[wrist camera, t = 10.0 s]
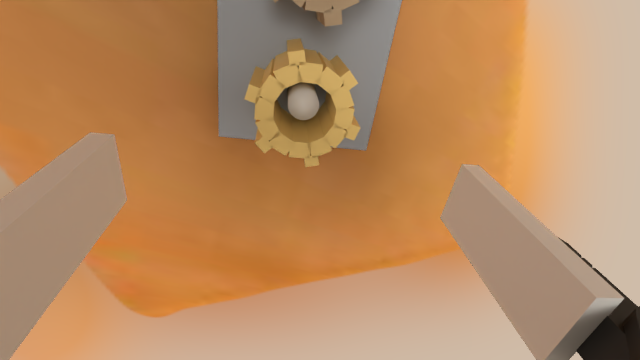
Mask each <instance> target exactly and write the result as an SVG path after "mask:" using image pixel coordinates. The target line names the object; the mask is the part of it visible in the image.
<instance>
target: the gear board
mask: <svg viewBox="0 0 640 360" xmlns="http://www.w3.org/2000/svg"><path fill="white" fill-rule="evenodd" d="M401 2H402V0H359V3H357V4H355V5H352V6H350V7H348V8H346V9H344V10H341V11H342V24H340V25H333V26H326V27H325V26H324V25H323V24H322V23H320V22H319V21H318V20H317V16H316V11H309V10H305V9H304V8H302V7H299V6H298V5H297V4H296V3H295V2H294V1H293V0H278V1H277V2H276V3H275V2H274V1H273V0H217V6H218V108H219V136H220V137H230V138H241V139H251V140H255V139H256V134H257V129H258V127H257V125H256V124H255V122H256V120H255V119H254V117H255V103H253V102H250V101H248V100H245V99H244V98H245V95H246V92H247V89H248V86H249V83H250V80H251V78H252V75H253V72H254V70H255V67H256V66H257V67H259V68H262V69H264V70H265V69H266V67H267V66H268V64H269V63H270V62H271V60H272V59H275V56H277V55H279V54H281V53H283V52H286V51H287V40H291V39H299V38H300V39H301V42H302V45H303V47H304V49H309V50H316V52H317V54H318V52H320V53H321V54H322V55H323V56H324V57H326V58H327V59H328V60H329V61H330V60H331V59H333V58H334V57H335V56H336V55H338V57H339V58H340V59H341V60H342V61H343V63H344V64H345V65H346V66H347V68H348V69H349V70H350V71H351V73H352V74H353V76H354V77H355V79H356V80H357V82H358V84H357V85H355V86H354V87H353V88H351V89H350V90H349V91H350V94H351V97H352V100H353V103H354V106H353V107H354V109H355V110H354V114H353V115H354V117H355V119H356V120H357V122H358V124H359V126H360V130H359V132H358V134H357V136H356V138H355V140H351V139H348V138H346V137H345V138H344V139H343V140H342V141H341V143H340V144H339V145H338V146H337V147H336V148H345V149H356V150H366V149H367V145H368V141H369V136H370V132H371V128H372V124H373V120H374V115H375V111H376V107H377V103H378V99H379V94H380V90H381V86H382V82H383V78H384V73H385V69H386V65H387V61H388V57H389V52H390V48H391V44H392V40H393V36H394V31H395V27H396V23H397V19H398V15H399V10H400V6H401ZM325 97H326V90H324V89H323V88H322V87H320V86H319V85H318V84H312V83H305V82H299V83H297V84H294V85H292V86H290V87H287V88H285V89H284V90H283V91H282V93H281V94H280V95H279V97H278V98H277V100H278V102H279V104H280V106H281V108H283V109H284V110H285V111H287V112H288V113H290V114H291V115H292V116H293V117H295V118H296V119H299V120H308V119H311V118H312V117H314V116H315V115H316V113H317V112H318V109H319V108H320V107H321V105H322V104H323V103H324V102H325ZM331 147H332V146H331Z"/></svg>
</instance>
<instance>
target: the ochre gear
mask: <svg viewBox="0 0 640 360" xmlns="http://www.w3.org/2000/svg"><path fill="white" fill-rule="evenodd" d="M299 82H305V83H312V84H318V85H319V86H320V87H322V88H323V89H324V90H326V97H325V102H324V103H323V104H322V105H321V107H320V108H319V109H318V112H317V113H316V115H315V116H314V117H312V118H311V119H308V120H299V119H296V118H295V117H293V116H292V115H291V114H290V113H288V112H287V111H285V110H284V109H283V108H281V106H280V104H279V102H278V100H277V98H278V97H279V95H280V94H281V93H282V91H283V90H284V89H285V88H287V87H290V86H292V85H294V84H297V83H299ZM357 84H358V82H357V80H356V79H355V77H354V76H353V74H352V73H351V71H350V70H349V69H348V68H347V66H346V65H345V64H344V63H343V61H342V60H341V59H340V58H339V57H338V55H336V56H335V57H334V58H333V59H331V60H330V61H329V60H328V59H327V58H326V57H324V56H323V55H322V54H321V53H320V52H318V54H317V52H316V50H309V49H304V47H303V45H302V42H301V39H300V38H299V39H291V40H287V51H286V52H283V53H281V54H279V55H277V56H275V59H272V60H271V62H270V63H269V64H268V66H267V67H266V69H265V70H264V69H262V68H259V67H257V66H256V67H255V70H254V72H253V75H252V78H251V80H250V83H249V86H248V89H247V92H246V95H245V98H244V99H245V100H248V101H250V102H253V103H255V117H254V119H255V120H256V122H255V124H256V125H257V127H258V129H257V134H256V139H255V144H256V145H257V146H258V147H259V148H260V149H261V150H262V151H263V152H264V153H266V152H268V151H269V150H270V149H271V148H274V149H275V150H277V151H278V152H280V153H282V154H283V155H285V156H286V155H287V153H288V152H289V157H293V158H304V162H305V167H310V166H317V165H319V160H318V156H320V155H323V154H325V153H328V152H330V151H332V148H331V146H332V147H333V148H336V147H337V146H338V145H339V144H340V143H341V141H342V140H343V139H344V138H345V137H346V138H348V139H351V140H355V138H356V136H357V134H358V132H359V130H360V126H359V124H358V122H357V120H356V119H355V117H354V115H353V114H354V110H355V109H354V107H353V106H354V103H353V100H352V97H351V94H350V91H349V90H350V89H351V88H353V87H354V86H355V85H357Z"/></svg>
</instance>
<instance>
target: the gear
mask: <svg viewBox="0 0 640 360" xmlns="http://www.w3.org/2000/svg"><path fill="white" fill-rule="evenodd" d="M273 1H274V2H275V3H276V2H277V1H278V0H273ZM293 1H294V2H295V3H296V4H297V5H298V6H299V7H302V8H304V9H305V10H309V11H316V16H317V20H318V21H319V22H320V23H322V24H323V25H324V26H325V27H326V26H333V25H340V24H342V11H341V10H344V9H346V8H348V7H350V6H352V5H355V4H357V3H359V0H293Z"/></svg>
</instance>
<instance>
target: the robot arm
mask: <svg viewBox="0 0 640 360" xmlns="http://www.w3.org/2000/svg"><path fill="white" fill-rule="evenodd" d="M126 201H127V196H126V191H125V186H124V181H123V176H122V171H121V166H120V160H119V155H118V150H117V145H116V140H115V135H114V134H103V133H91V132H90V133H89V134H87V135H86V136H85V137H83V138H82V139H81V140H79V141H78V142H77V143H75V144H74V145H73V146H71V147H70V148H69V149H67V150H66V151H65V152H63V153H62V154H61V155H59V156H58V157H57V158H55V159H54V160H53V161H51V162H50V163H49V164H47V165H46V166H45V167H43V168H42V169H41V170H39V171H38V172H37V173H35V174H34V175H33V176H31V177H30V178H29V179H27V180H26V181H25V182H23V183H22V184H20V185H19V186H18V187H16V188H15V189H14V190H12V191H11V192H10V193H8V194H7V195H6V196H4V197H3V198H2V199H0V360H9V359H10V358H11V356H12V355H13V354H14V352H15V351H16V350H17V348H18V347H19V346H20V344H21V343H22V342H23V340H24V339H25V338H26V336H27V335H28V334H29V332H30V330H31V329H32V328H33V327H34V325H35V324H36V323H37V321H38V320H39V318H40V317H41V316H42V315H43V313H44V312H45V311H46V309H47V308H48V306H49V305H50V304H51V302H52V301H53V300H54V298H55V297H56V296H57V294H58V293H59V292H60V290H61V289H62V287H63V286H64V285H65V283H66V282H67V281H68V279H69V278H70V277H71V275H72V274H73V273H74V271H75V270H76V269H77V267H78V266H79V265H80V263H81V262H82V260H83V259H84V258H85V256H86V255H87V254H88V252H89V251H90V250H91V248H92V247H93V246H94V244H95V243H96V242H97V240H98V239H99V237H100V236H101V235H102V233H103V232H104V231H105V229H106V228H107V227H108V225H109V224H110V223H111V221H112V220H113V219H114V217H115V216H116V215H117V213H118V212H119V210H120V209H121V208H122V206H123V205H124V204H125V202H126ZM440 218H441V220H442V221H443V223H444V224H445V226H446V227H447V229H448V230H449V232H450V233H451V235H452V236H453V238H454V239H455V240H456V242H457V243H458V245H459V246H460V248H461V249H462V251H463V252H464V254H465V255H466V257H467V258H468V260H469V261H470V263H471V264H472V266H473V267H474V269H475V270H476V271H477V273H478V274H479V276H480V277H481V279H482V280H483V282H484V283H485V285H486V286H487V287H488V289H489V291H490V292H491V294H492V295H493V297H494V298H495V299H496V301H497V302H498V304H499V305H500V307H501V308H502V310H503V311H504V313H505V314H506V316H507V317H508V319H509V320H510V321H511V323H512V324H513V326H514V328H515V329H516V331H517V332H518V334H519V335H520V336H521V338H522V339H523V341H524V342H525V344H526V345H527V347H528V348H529V350H530V351H531V353H532V354H533V356H534V357H535V358H536V360H569V359H570V358H571V357H572V356H573V355H574V354H575V352H576V351H577V352H578V353H579V355H580V356H581V357H582V358H583V360H640V306H639V307H638V306H636V305H635V304H634V303H633V302H632V301H631V300H630V299H629V298H628V297H626V296H625V295H624V294H623V293H622V292H621V291H620V290H619V289H618V288H617V287H616V286H614V285H613V284H612V283H611V282H610V281H609V280H608V279H607V278H606V277H604V276H603V275H602V274H601V273H600V272H599V271H598V270H597V269H596V268H592V265H591V264H590V263H589V262H588V261H587V260H586V259H584V258H581V255H580V254H579V253H578V252H577V251H576V250H574V249H573V248H572V247H571V246H570V245H569V244H568V243H566V242H564V241H563V240H561V239H560V238H558V237H557V236H556V235H555V234H554V233H552V232H551V231H550V230H549V229H548V228H547V227H545V225H544V224H543V223H541V222H540V221H539V220H538V219H537V218H536V217H535V216H534V215H533V214H532V213H531V212H529V211H528V210H527V209H526V208H525V207H524V206H523V205H522V204H521V203H520V202H518V201H517V200H516V199H515V198H514V197H513V196H512V195H511V194H510V193H509V192H508V191H506V190H505V189H504V188H503V187H502V186H501V185H500V184H499V183H498V182H497V181H496V180H494V179H493V178H492V177H491V176H490V175H489V174H488V173H487V172H486V171H485V170H483V169H482V168H481V167H480V166H479V165H467V164H462V165H461V168H460V170H459V173H458V175H457V178H456V180H455V183H454V185H453V187H452V190H451V192H450V195H449V197H448V200H447V202H446V205H445V207H444V210H443V212H442V215H441V217H440Z"/></svg>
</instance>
